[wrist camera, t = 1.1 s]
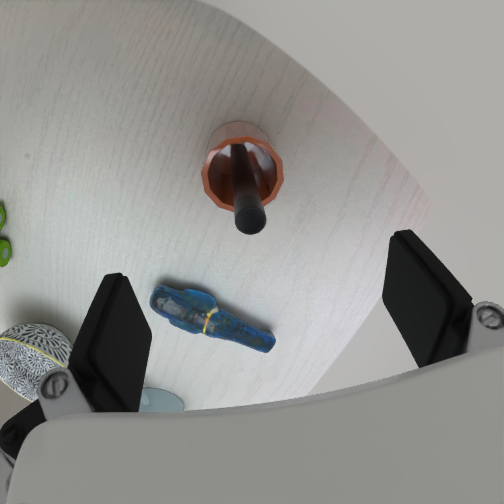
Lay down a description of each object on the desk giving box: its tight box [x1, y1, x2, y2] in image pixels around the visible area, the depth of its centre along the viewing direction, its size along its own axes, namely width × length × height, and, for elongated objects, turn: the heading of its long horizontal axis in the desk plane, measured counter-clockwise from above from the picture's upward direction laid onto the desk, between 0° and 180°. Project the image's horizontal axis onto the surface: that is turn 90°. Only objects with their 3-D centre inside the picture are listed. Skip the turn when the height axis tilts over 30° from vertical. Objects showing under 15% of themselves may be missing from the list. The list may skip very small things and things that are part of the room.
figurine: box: [149, 285, 276, 353], centre depth 34 cm, size 5×4×15 cm
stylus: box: [230, 144, 266, 235], centre depth 20 cm, size 2×1×13 cm
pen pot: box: [201, 121, 284, 212], centre depth 23 cm, size 5×5×7 cm
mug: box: [139, 388, 184, 412], centre depth 40 cm, size 14×9×10 cm
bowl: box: [0, 323, 73, 402], centre depth 33 cm, size 16×16×8 cm
